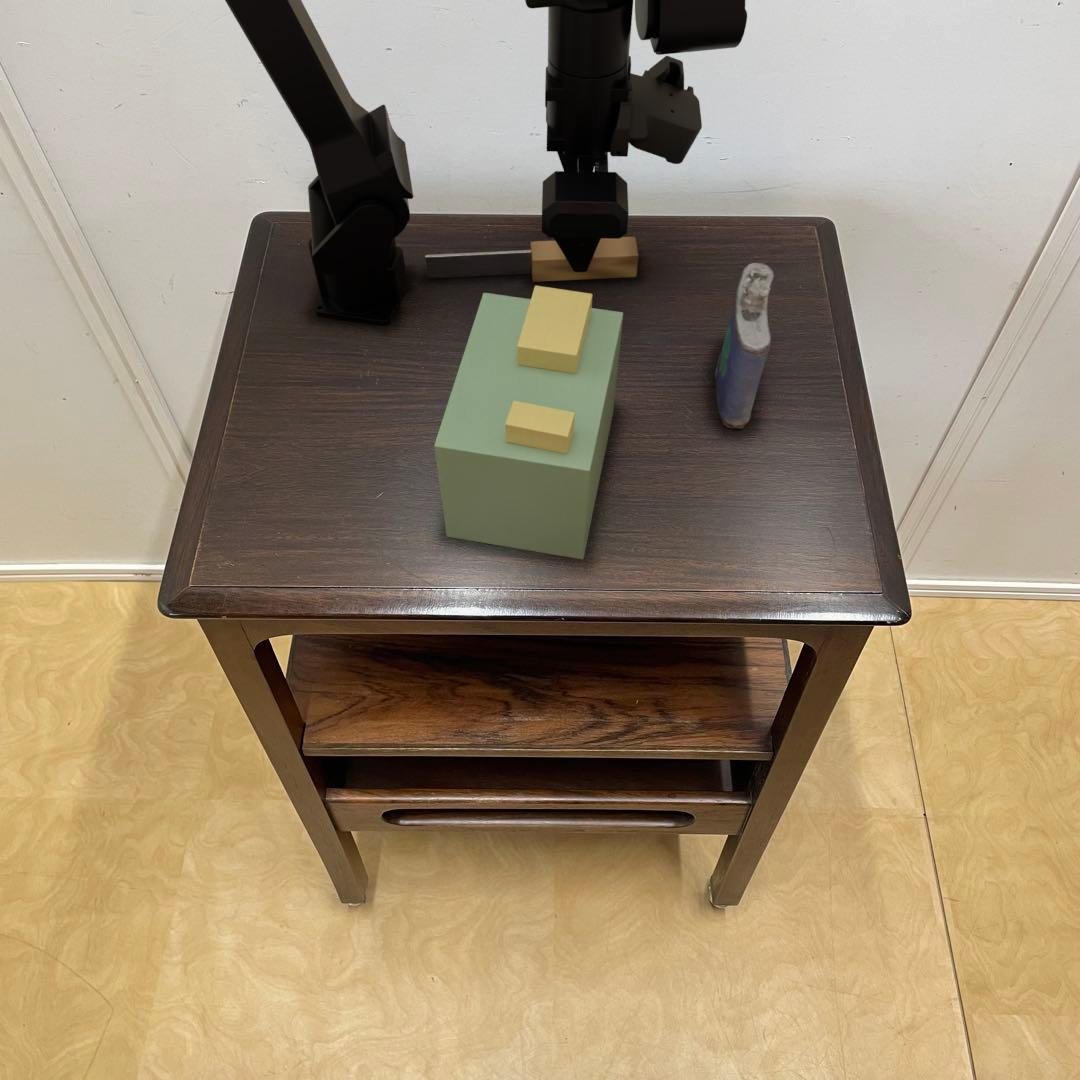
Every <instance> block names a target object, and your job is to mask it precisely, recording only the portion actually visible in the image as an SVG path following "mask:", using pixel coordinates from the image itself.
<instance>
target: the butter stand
mask: <svg viewBox="0 0 1080 1080" xmlns="http://www.w3.org/2000/svg"><path fill="white" fill-rule="evenodd" d="M530 301H531V298H524V297H517V296H511V295H504V294H498V293H497V294H496V293H489V292H483V293H482V295H481V299H480V302H479V305H478V308H477V311H476V315H475V318H474V321H473V324H472V327H471V330H470V333H469V336H468V340H467V343H466V345H465V349H464V352H463V355H462V358H461V361H460V364H459V367H458V371H457V374H456V377H455V380H454V383H453V385H452V389H451V392H450V395H449V398H448V402H447V404H446V408H445V411H444V414H443V417H442V420H441V423H440V426H439V430H438V432H437V436H436V439H435V442H434V445H433V447H434V448H433V449H434V454H435V455H434V456H435V462H436V469H437V470H436V471H437V477H438V484H439V490H440V491H439V492H440V498H441V505H442V512H443V519H444V527H445V534H446V537H448V538H451V539H459V540H465V541H469V542H476V543H481V544H482V543H483V544H489V545H494V546H500V547H506V548H511V549H518V550H523V551H530V552H535V553H541V554H547V555H554V556H560V557H565V558H571V559H577V560H584V559H585V553H586V548H587V543H588V538H589V535H590V529H591V524H592V518H593V514H594V509H595V504H596V499H597V494H598V490H599V485H600V479H601V476H602V475H601V474H602V470H603V465H604V460H605V455H606V450H607V445H608V441H609V436H610V431H611V426H612V420H613V416H614V409H615V400H616V391H617V381H618V380H617V379H618V371H619V370H618V369H619V362H620V361H619V360H620V353H621V352H620V349H621V342H622V341H621V340H622V331H623V320H624V312H623V311H615V310H609V309H601V308H596V307H595V308H594V307H592V310H591V316H590V320H589V324H588V328H587V332H586V336H585V340H584V344H583V348H582V352H581V356H580V360H579V364H578V368H577V372H576V374H573V373H567V372H561V371H554V370H548V369H542V368H535V367H529V366H523V365H518V364H517V344H518V341H519V338H520V334H521V331H522V328H523V324H524V321H525V318H526V314H527V311H528V308H529V304H530ZM513 401H518V402H523V403H529V404H534V405H539V406H544V407H549V408H554V409H559V410H564V411H569V412H574V413H575V425H574V433H573V436H572V440H571V443H570V446H569V450H568V453H567V454H563V453H558V452H553V451H548V450H543V449H538V448H533V447H528V446H523V445H519V444H514V443H509V442H506V433H505V423H506V420H507V417H508V414H509V412H510V409H511V406H512V403H513Z"/></svg>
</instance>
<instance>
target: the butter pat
mask: <svg viewBox="0 0 1080 1080" xmlns="http://www.w3.org/2000/svg"><path fill="white" fill-rule="evenodd" d="M574 425H575V413H574V412H569V411H564V410H559V409H554V408H549V407H544V406H539V405H534V404H529V403H523V402H518V401H513V403H512V406H511V409H510V412H509V414H508V417H507V420H506V423H505V433H506V442H509V443H514V444H519V445H523V446H528V447H533V448H538V449H543V450H548V451H553V452H558V453H563V454H567V453H568V450H569V446H570V443H571V440H572V436H573V433H574Z"/></svg>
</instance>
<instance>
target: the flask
mask: <svg viewBox="0 0 1080 1080" xmlns="http://www.w3.org/2000/svg"><path fill="white" fill-rule="evenodd" d="M774 278H775V272H774V270H773V268H771V267H770V266H769V265H767V263H764V262H753V263H749V264H746V266H745V267H744V268H743V269H742V272H741V274H740V277H739V280H738V283H737V286H736V289H735V293H734V296H733V297H734V298H733V303H732V308H731V311H730V314H729V320H728V325H727V329H726V333H725V337H724V340H723V344H722V349H721V352H720V354H719V356H718V361H717V363H716V368H715V373H714V375H715V378H714V383H715V384H714V385H715V399H716V400H715V401H716V403H715V404H716V408H717V409H716V412H717V416H718V417H719V418H718V419H719V420H720V422H721V423H722V425H723V426H725V427H727V428H729V429H744V427H746V425H747V424H748V423H749V422H750V419H751V416H752V410H753V408H754V403H755V400H756V395H757V392H758V388H759V385H760V382H761V377H762V375H763V372H764V369H765V364H766V361H767V358H768V356H769V351H770V349H771V347H772V339H773V338H772V337H773V336H772V334H771V329H770V326H769V325H770V324H769V298H770V291H771V290H772V287H773V283H774V280H775V279H774Z"/></svg>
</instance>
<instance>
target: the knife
mask: <svg viewBox="0 0 1080 1080" xmlns="http://www.w3.org/2000/svg"><path fill="white" fill-rule="evenodd" d="M637 245H638V244H637V240H636V236H622V237H621V238H619V239H607V238H601V240H600V242H599V244H598V246H597V248H596V251H595V253H594V256H593V258H592V261H591V263H590V265H589V268H588V270H587V271H586V272H574V271H573V269H572V268H571V266H570V264H569V263H568V261H567V259H566V257H565V256H564V254H563V252H562V251H561V249H560V247H559V246H558V244H557V242H556V241H555V240H554V239H553V240H537V241H534V240H533V241H530V249H523V250H520V249H519V250H499V251H482V252H481V251H479V252H459V253H439V254H425V255H424V259H425V266H426V275H427V279H428V280H431V279H451V278H469V277H470V278H471V277H489V276H491V277H493V276H513V275H529V274H531V279H532V280H531V281H532V282H533V283H535V282H536V283H540V282H559V281H579V280H580V281H582V280H599V279H601V280H603V279H619V278H620V279H621V278H636V277H637V274H638V273H637V272H638V265H639V252H638V251H639V250H638V246H637Z"/></svg>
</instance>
